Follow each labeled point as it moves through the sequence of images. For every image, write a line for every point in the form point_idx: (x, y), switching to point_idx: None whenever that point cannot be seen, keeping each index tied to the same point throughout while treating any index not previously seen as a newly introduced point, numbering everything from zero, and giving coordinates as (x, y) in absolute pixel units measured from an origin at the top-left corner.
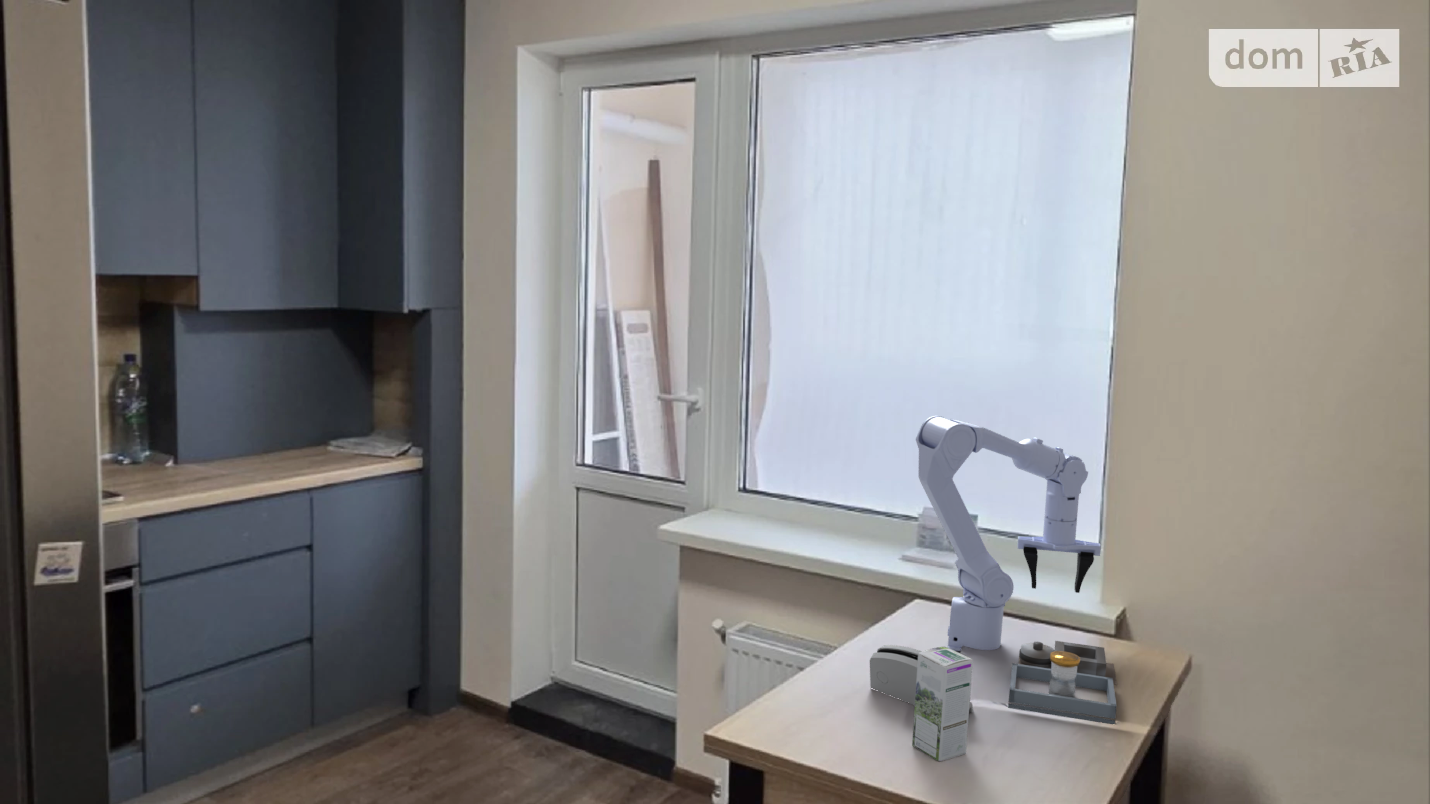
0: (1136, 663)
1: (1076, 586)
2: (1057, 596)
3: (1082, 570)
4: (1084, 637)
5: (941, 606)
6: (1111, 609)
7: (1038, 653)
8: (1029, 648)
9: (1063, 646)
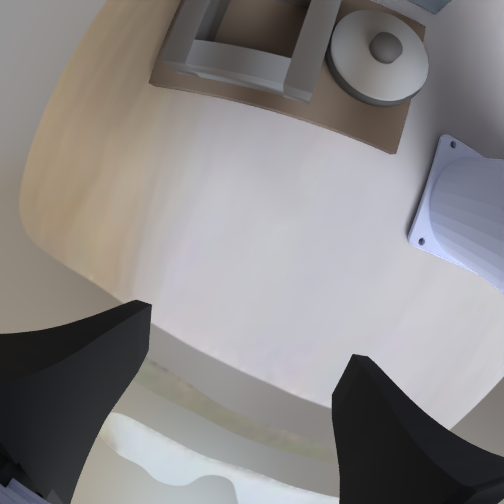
0: (90, 142)
1: (135, 313)
2: (179, 472)
3: (47, 347)
4: (162, 304)
5: None
6: None
7: (387, 19)
8: (407, 55)
9: (299, 44)
